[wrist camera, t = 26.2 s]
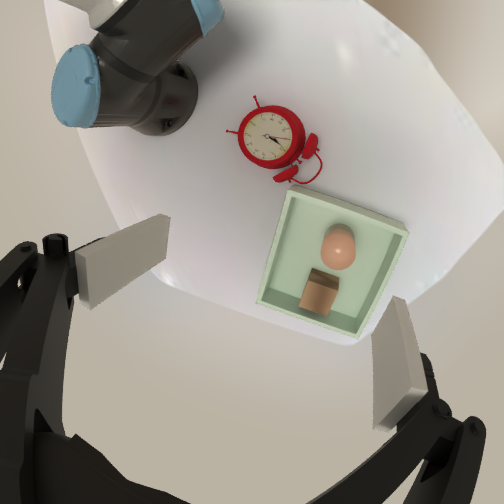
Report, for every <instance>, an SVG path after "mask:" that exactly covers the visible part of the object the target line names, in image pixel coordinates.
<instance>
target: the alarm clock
mask: <svg viewBox="0 0 504 504" xmlns="http://www.w3.org/2000/svg"><path fill="white" fill-rule="evenodd" d="M253 98H255V101H256V104H257V106H258V108H257V109H255V110H253V111H251V112H250V113H249V114H248V115H247V116H246V117H245V118H244V119H243V121H242V122H241V124H240V127H239V130H238V132H235V131H228V130H226V132H231V133H235V134H238V142H239V146H240V148H241V150H242V152H243V154H244V155H245V156H246V157H247V158H248V159H249V160H250V161H252V162H253V163H255V164H257V165H259V166H261V167H264V168H268V169H278V168H283V167H286V166H288V165H290V164H291V163H293V162H294V161H295V160H297V161H298V162H299V164H301V163H302V161H299V160H298V159H297V158H298V157H299V156H300V154H301V153H302V151H303V153H302V158H304V159H309V158H311V157H312V155H313V154H314V153H315V155H316V156H317V157H318V159H319V160H320V163H321V167H320V170H319V171H318V173H317V174H316V175H315V176H314V177H313V178H312V179H311V180H310V181H308V182H299V181H297V180H295V179H293V178H292V177H293V176H294V175H296V174H297V172H298V167H297V165H295V166H292V167H291V168H289V169H287V170H285V171H283V172H281V173H279V174H278V175H276V176H274V177H272V178H273V180H274V181H275V182H278V183H280V182H284V181H286V180H288V181H289V183H291V181H290V179H292V180H294V181H295V182H298V183H300V184H307V183H309V182H311V181H313V180H314V179H315V178H316V177H317V176H318V174H319V173H320V171H321V169H322V161H321V159H320V157H319V156H318V155H317V154H316V150H317V151H319V149H318V148H316V147H317V143H318V138H317V136H316V135H315V134H313V133H311V134H310V135H309V137H308V140H307V142H306V144H305V130H304V127H303V124H302V122H301V121H300V119H299V118H298V117H297V116H296V115H295V114H294V113H293V112H292V111H290V110H288V109H286V108H284V107H281V106H273V105H272V106H265V107H260V106H259V104H258V102H257V99H256V96H253ZM304 145H305V147H304ZM303 148H304V150H303ZM291 165H292V164H291Z"/></svg>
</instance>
